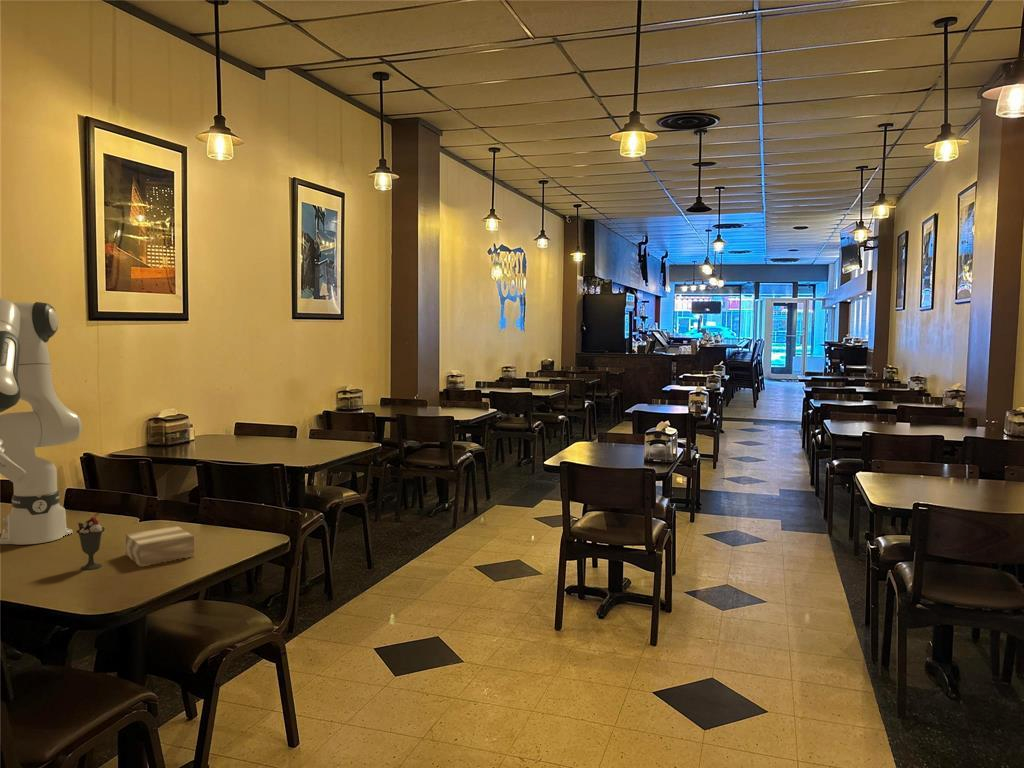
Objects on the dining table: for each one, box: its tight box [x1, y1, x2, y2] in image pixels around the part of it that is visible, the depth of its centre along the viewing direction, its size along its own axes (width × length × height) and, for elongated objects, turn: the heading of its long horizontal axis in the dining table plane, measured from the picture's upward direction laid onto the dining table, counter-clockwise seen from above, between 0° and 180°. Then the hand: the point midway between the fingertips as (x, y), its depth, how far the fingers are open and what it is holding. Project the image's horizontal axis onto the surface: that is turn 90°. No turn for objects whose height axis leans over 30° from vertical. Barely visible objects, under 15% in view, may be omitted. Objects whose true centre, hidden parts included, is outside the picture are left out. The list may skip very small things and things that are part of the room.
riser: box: [125, 525, 195, 568], centre depth 204 cm, size 14×14×6 cm
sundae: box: [76, 511, 105, 571], centre depth 193 cm, size 7×7×15 cm
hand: (30, 484), depth 184 cm, fingers open, 8 cm apart
